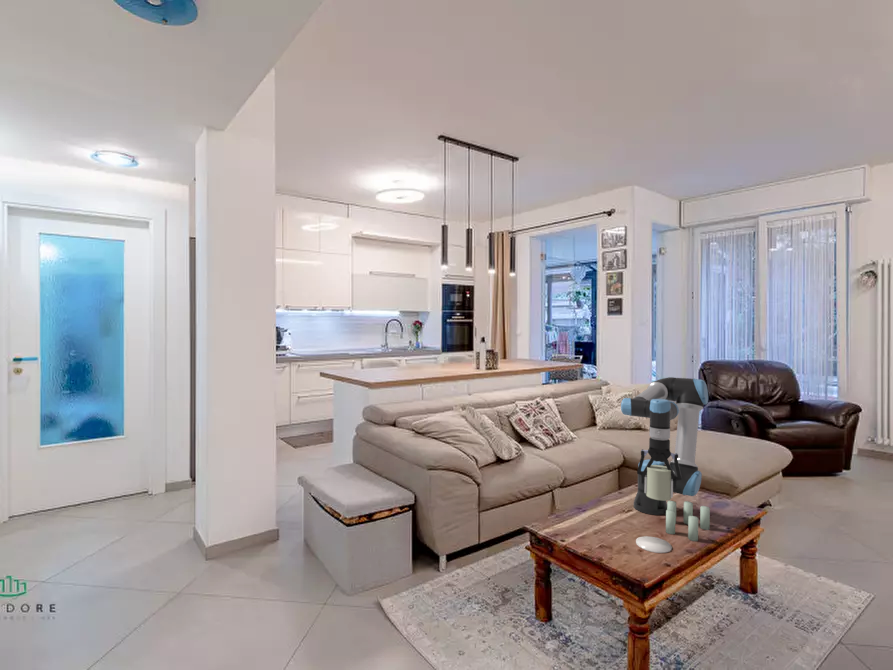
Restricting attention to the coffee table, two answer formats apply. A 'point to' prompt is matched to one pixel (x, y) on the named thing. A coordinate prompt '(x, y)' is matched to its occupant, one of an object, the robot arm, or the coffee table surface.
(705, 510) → the posts
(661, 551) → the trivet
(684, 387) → the robot arm
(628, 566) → the coffee table surface
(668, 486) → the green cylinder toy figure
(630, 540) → the coffee table surface
